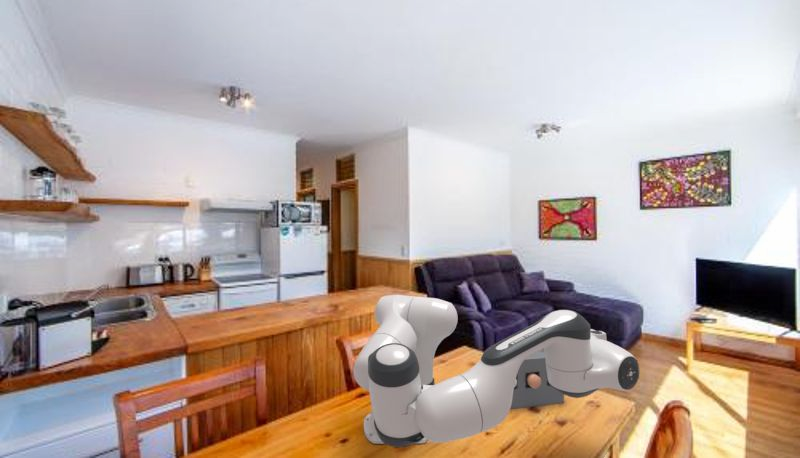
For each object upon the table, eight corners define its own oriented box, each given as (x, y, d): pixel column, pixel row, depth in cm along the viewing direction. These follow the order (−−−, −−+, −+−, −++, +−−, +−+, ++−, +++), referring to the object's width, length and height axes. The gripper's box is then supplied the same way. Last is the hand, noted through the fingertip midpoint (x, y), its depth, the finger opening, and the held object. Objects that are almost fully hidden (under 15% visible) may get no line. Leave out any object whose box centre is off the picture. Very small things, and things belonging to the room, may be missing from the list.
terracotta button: (529, 389, 114) (529, 376, 114) (526, 386, 116) (526, 373, 116) (541, 388, 115) (541, 375, 115) (537, 385, 117) (537, 372, 117)
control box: (499, 410, 114) (499, 361, 113) (487, 398, 122) (488, 352, 121) (563, 402, 119) (564, 356, 118) (549, 391, 127) (549, 347, 126)
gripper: (540, 362, 86) (511, 343, 100) (611, 356, 90) (573, 338, 104) (540, 337, 86) (511, 321, 100) (611, 332, 90) (574, 317, 104)
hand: (543, 330), depth 102 cm, fingers closed
